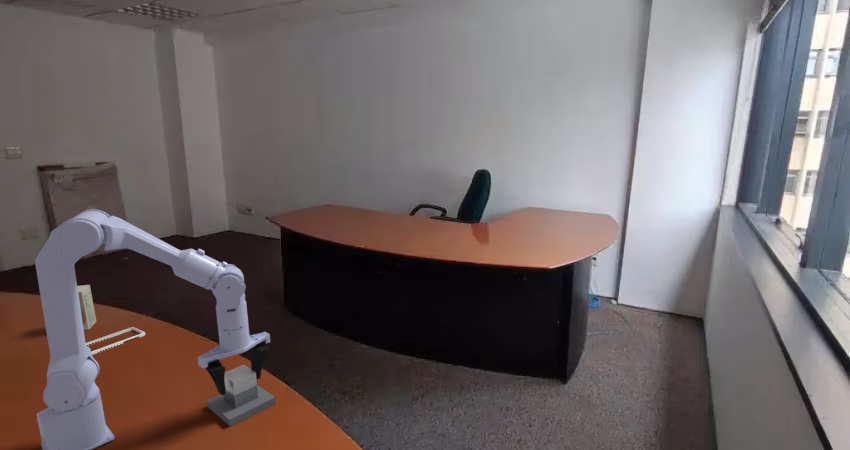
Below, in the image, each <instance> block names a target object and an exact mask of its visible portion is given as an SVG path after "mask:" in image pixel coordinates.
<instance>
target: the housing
mask: <svg viewBox="0 0 850 450" xmlns="http://www.w3.org/2000/svg"><path fill="white" fill-rule="evenodd" d="M224 381H225V388H226V394H224V400H225V401H226V402H228V403H229V404H230V405H231V406H233V407H234V408H235V409H236V408H238V407H240V406H243V405H245V404H247V403H249V402H251V401H253V400H255V399H257V398H258V390H257V385H258V383H257V382H258V381H257V379H256V372H254V371H253V370H251V368H250V367H249V366H247V365H245V364H241V365H239V366H237V367H235V368H233V369H230V370H228V371H225V376H224Z"/></svg>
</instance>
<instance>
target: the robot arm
mask: <svg viewBox="0 0 850 450" xmlns="http://www.w3.org/2000/svg"><path fill="white" fill-rule="evenodd" d="M102 245H104V251H107V252H109V251H113V250H122V249H128V250H131V251H133V252H136V253H138V254H141V255H143V256H146V257H148V258H150V259H152V260H155V261H158V262H160V263H163V264H166V265H168V266H170V267H171V268H172V271H173V273H174V274H173V275H175V277H178V278H180V279H184V280H185V281H188V282H190V283H192V284H194V285H197V286H199V287H201V288H203V289H205V290H211V292H212V294H213V295H214V297H215V299H216V300H215V301H216V305H215V312H216V321H217V330H218V339H219V344H218V345H217V346H216V347H214V348H212V349H210V350H208V351H206V352H205V353H203V354H200V355H199V356H197V363H198V366H199V367H200V368H202V369H205V370H206V371H207V373H208V374H209V376H210V377H211V379H212V381H213V382H214V385H215V387H216V390H217V393H218V394H219V395H224V394H226V388H225V381H224V376H225V372H226V367H225V366H223V365H222V362H221V361H222V360H224V359H227V358H230V357H232V356H237V355H240V354H244V353H245V352H247V351H248V354H249V360H250V367H251V368H250V369H251V370H253V371H254V372H256V380H259V379H261V377H262V376H261V375H262V369H263V367H264V366H263V365H264V363H265V359H266V357H267V355H268V353H269V351H270V347H269V346H268V345H267V344H268V343H269V344H270V343H271V335H270V333H268V332H266V331H263V332H260V333H256V334H255V333H254V334H252V335H251V334H250V327H249V317H248V316H249V315H248V309H247V308H248V306H247V300H246V294H245V292H246V286H247V285H246V283H245V278H244V277H245V276H244V274H243V272H242V270H241V269H240V268H238V267H237V266H236V265H235V264H231V263H230V264H229V263H228V262H226V261H222V262H220V261H218V260H216V259H214V258H213V257H210V256H208V255H206V253H205V250H203V249H201V248H197V250H195V249H193V248H188V249H182V250H181V249H178V248H177V247H174V245H171V244H169V243H168V242H165V241H164V240H162V239H160V238H158V237H156V236H154V235H152V234H151V233H148V232H146V231H144V230H143V229H141V228H139V227H137V226H135V225H133V224H131V223H130V222H128V221H126V220H124V219H122V218H120V217H118V216H114V215H109V214H108V213H107V212H106V211H103V210H100V209H85V210H84V211H81V212H80V213H78V214H77V215H76V216H74V217H73V218H70V219H68V220H65V221H64V222H63V223H61V224H60V225H59V226H57V227H55V228H54V229H53V230H51V232H50V235H49V238H48V239H47V240H46V241H45V244H44V245H43V247H42V248H41V250H40V251H39V253H38V254H37V256H36V258H35V263H34V264H35V269H36V270H35V271H36V275H37V281H38V289H39V295H40V301H41V307H42V314H43V317H44V318H43V319H44V325H45V331H46V335H47V336H46V337H47V343H48V349H49V350H48V351H49V356H50V358H49V363H48V367H47V370H46V371H47V372H46V381H47V382H46V386H45V388H44V389H43V394H42V400H43V402H44V404H45V405H46V406H47V407H46V408H45V409H43V410H41V411H39V412H36V421H37V424H38V425H37V426H38V428H39V429H38V430H39V435H40V437H41V438H40V440H41V442H40V444H41V450H94V449H96V448H98V447H100V446H102V445H104V444H107V443H109V442H111V441H113V440H115V435H114V434H113V432H112V431H111V429H110V428H109V427H108V425H107V423H106V418H105V413H104V409H103V408H104V406H103V401H102V397H101V396H102V395H101V392H100V388H99V387H98V386H97V384H96V382H95V380H96V379H97V377H99V374H100V364H99V363H98V361H96V359H95V358H94V357H93V355H92V354H91V352H92V350H91V348H90V347H89V345H88V346H87V345H86V343H87V342H86V338H85V330H84V329H83V323H82V316H81V309H80V302H79V295H78V288H77V286H78V283H77V277H76V268H75V264H76V263H77V262H78V261H79V260H80V259H81V258H82V257H84V256H87V255H89V254H91V253H93V252H95V251H97V250H98V249H99V248H100V247H101V246H102Z"/></svg>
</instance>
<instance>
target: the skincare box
mask: <svg viewBox="0 0 850 450" xmlns="http://www.w3.org/2000/svg"><path fill="white" fill-rule="evenodd" d="M77 288H78V295H79V302H80V309H81V316H82V323H83V329H84V331H88V329H89V330H90V329H91V328H92V327H93V326H94V325H95V324H96V323H97V317H96V312H95V307H94V301H93V295H92V289H91V284H84V285H77Z"/></svg>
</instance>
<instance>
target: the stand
mask: <svg viewBox="0 0 850 450" xmlns="http://www.w3.org/2000/svg"><path fill="white" fill-rule="evenodd" d="M257 390H258V398H257V399H255V400H253V401H251V402H249V403H247V404H245V405H243V406H240V407H238V408H236V409H235V408H234V407H233V406H231V405H230V404H229V403H228V402H226V401H225V400H224V395H221V394H218V395H216V396H214V397H212V398H209V399H208V400H206V406H207V408H208V409H210V410H211V412H213V413H214V414H215V415H216V416H217V417H218V418H220V419H221V420H222V422H224V423H225V424H227V425H228V426H229V427H232V426H234V425H236V424H238V423H240V422H243V421H244V420H246V419H248V418H250V417H252V416H254V415H256V414H257V413H259V412H262V411H264V410H265V409H267V408H269V407H271V406H273V405H276V404H277V403H276V397H275V396H274V395H273V394H271V393H270V392H268V391H267V390H265V389H264V388H263V387H261V386H259V385H258V384H257Z"/></svg>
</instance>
